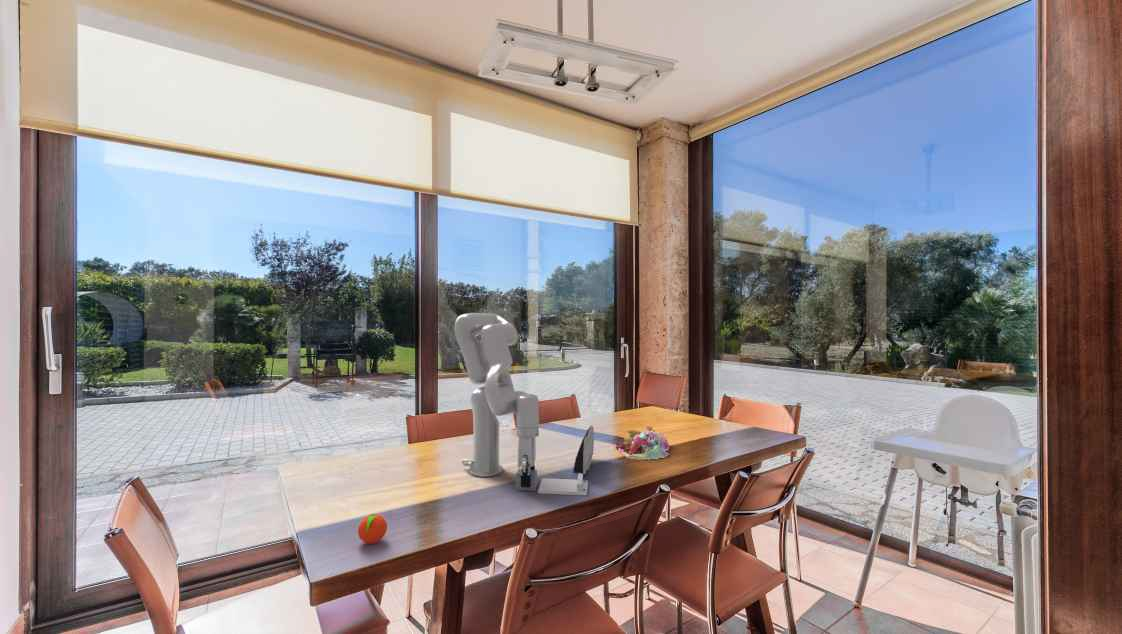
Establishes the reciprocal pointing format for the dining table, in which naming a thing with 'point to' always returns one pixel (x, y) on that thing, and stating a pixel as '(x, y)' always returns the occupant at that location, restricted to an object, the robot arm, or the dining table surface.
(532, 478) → the module
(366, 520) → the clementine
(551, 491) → the plate
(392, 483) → the dining table surface
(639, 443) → the candy landscape model
